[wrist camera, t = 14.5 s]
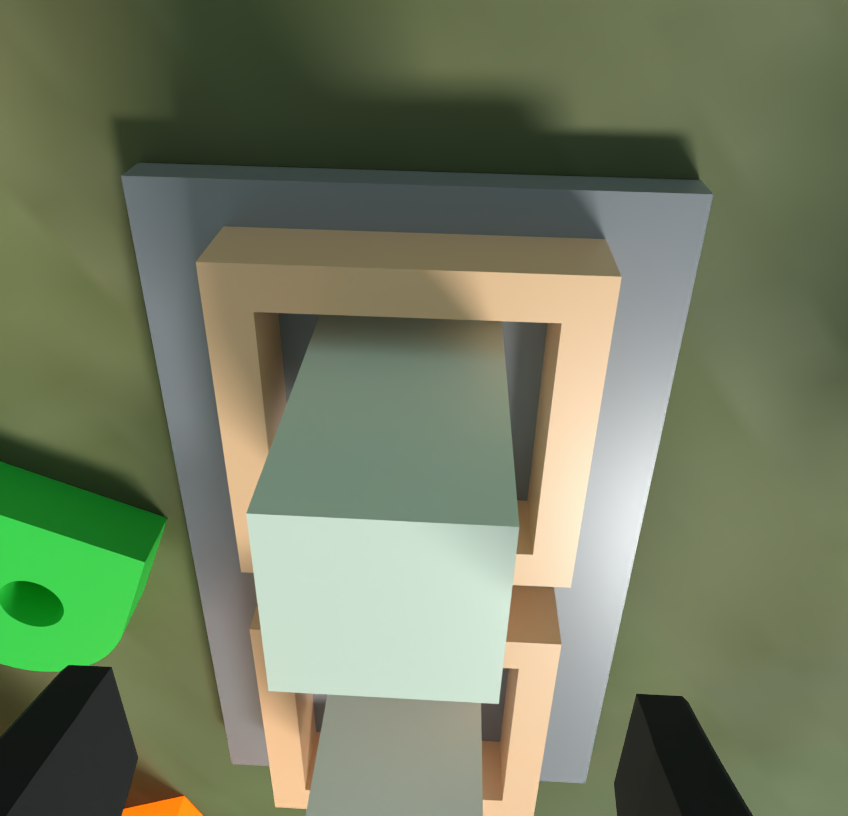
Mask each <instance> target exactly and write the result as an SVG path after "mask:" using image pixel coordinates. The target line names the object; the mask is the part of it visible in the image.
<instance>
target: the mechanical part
mask: <svg viewBox="0 0 848 816" xmlns="http://www.w3.org/2000/svg"><path fill="white" fill-rule="evenodd" d="M166 521H167V518H165V517H162V516H159V515H157V514H154V513H151V512H148V511H145V510H142V509H139V508H136V507H133V506H130V505H127V504H124V503H121V502H118V501H115V500H112V499H109V498H106V497H103V496H101V495H98V494H95V493H92V492H89V491H86V490H83V489H80V488H77V487H74V486H71V485H68V484H65V483H62V482H59V481H56V480H53V479H50V478H47V477H44V476H42V475H39V474H36V473H33V472H30V471H27V470H24V469H21V468H18V467H15V466H12V465H9V464H6V463H3V462H0V664H3V665H7V666H11V667H15V668H20V669H25V670H32V671H44V672H57V671H62V670H63V669H64V668H65V667H66V666H68V665H80V666H88V665H91V664H93V663H95V662H97V661H99V660H101V659H102V658H104V657H105V656H107V655H108V654H109V653H110V652H111V651H112V650H113V649H114V648H115V647H116V645H117V644H118V642H119V641H120V639H121V637H122V635H123V633H124V631H125V628H126V626H127V624H128V622H129V620H130V618H131V616H132V614H133V612H134V610H135V608H136V606H137V604H138V601H139V599H140V597H141V595H142V593H143V591H144V588H145V586H146V583H147V579H148V576H149V573H150V570H151V567H152V564H153V561H154V558H155V555H156V552H157V549H158V545H159V542H160V539H161V536H162V533H163V530H164V527H165V524H166Z"/></svg>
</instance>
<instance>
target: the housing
mask: <svg viewBox="0 0 848 816" xmlns="http://www.w3.org/2000/svg"><path fill="white" fill-rule="evenodd" d="M121 179H122V184H123V190H124V195H125V200H126V205H127V211H128V216H129V221H130V227H131V232H132V237H133V242H134V248H135V253H136V258H137V264H138V269H139V274H140V279H141V285H142V290H143V295H144V301H145V306H146V311H147V316H148V322H149V327H150V332H151V338H152V343H153V348H154V353H155V359H156V364H157V369H158V375H159V380H160V385H161V391H162V396H163V401H164V406H165V412H166V417H167V422H168V428H169V433H170V438H171V443H172V449H173V454H174V459H175V465H176V470H177V475H178V480H179V486H180V491H181V496H182V502H183V507H184V512H185V517H186V523H187V528H188V533H189V539H190V544H191V549H192V554H193V560H194V565H195V570H196V576H197V581H198V586H199V591H200V597H201V602H202V607H203V613H204V618H205V623H206V629H207V634H208V639H209V644H210V650H211V655H212V660H213V666H214V671H215V676H216V681H217V687H218V692H219V697H220V703H221V708H222V713H223V718H224V724H225V729H226V734H227V740H228V745H229V750H230V755H231V761H232V764H242V765H261V766H270V772H271V779H272V786H273V793H274V800H275V806H276V807H285V808H303V809H307V805H308V800H309V794H310V788H311V783H312V777H313V772H314V766H315V761H316V755H317V750H318V744H319V738H320V733H321V727H322V722H323V716H324V711H325V705H326V700H327V694H311V693H293V692H275V691H268V683H267V675H266V667H265V659H264V651H263V643H262V635H261V628H260V620H259V612H258V604H257V596H256V588H255V580H254V572H253V564H252V557H251V549H250V541H249V533H248V525H247V517H246V512H247V510H248V507H249V504H250V501H251V499H252V496H253V493H254V491H255V488H256V485H257V483H258V480H259V477H260V475H261V472H262V469H263V466H264V464H265V461H266V458H267V456H268V453H269V450H270V448H271V445H272V442H273V440H274V437H275V434H276V431H277V429H278V426H279V423H280V421H281V418H282V415H283V413H284V410H285V407H286V405H287V402H288V399H289V396H290V394H291V391H292V388H293V386H294V383H295V380H296V378H297V375H298V372H299V370H300V367H301V364H302V361H303V359H304V356H305V353H306V351H307V348H308V345H309V343H310V340H311V337H312V335H313V332H314V329H315V326H316V324H317V321H318V318H319V316H320V315H347V316H374V317H401V318H429V319H456V320H483V321H502V328H503V340H504V352H505V363H506V375H507V387H508V399H509V411H510V422H511V434H512V446H513V458H514V469H515V481H516V493H517V505H518V517H519V535H518V543H517V552H516V560H515V569H514V577H513V586H512V595H511V603H510V612H509V620H508V629H507V637H506V646H505V654H504V663H503V671H502V680H501V689H500V697H499V704H490V703H481V732H482V791H483V816H534V810H535V803H536V797H537V791H538V785H539V781H554V782H572V783H585V782H586V777H587V773H588V768H589V763H590V759H591V754H592V750H593V745H594V740H595V736H596V731H597V727H598V722H599V718H600V713H601V708H602V704H603V699H604V695H605V690H606V685H607V681H608V676H609V672H610V667H611V662H612V658H613V653H614V649H615V644H616V639H617V635H618V630H619V626H620V621H621V616H622V612H623V607H624V603H625V598H626V594H627V589H628V584H629V580H630V575H631V571H632V566H633V561H634V557H635V552H636V548H637V543H638V538H639V534H640V529H641V525H642V520H643V515H644V511H645V506H646V502H647V497H648V493H649V488H650V483H651V479H652V474H653V470H654V465H655V460H656V456H657V451H658V447H659V442H660V437H661V433H662V428H663V424H664V419H665V414H666V410H667V405H668V401H669V396H670V391H671V387H672V382H673V378H674V373H675V369H676V364H677V359H678V355H679V350H680V346H681V341H682V336H683V332H684V327H685V323H686V318H687V313H688V309H689V304H690V300H691V295H692V290H693V286H694V281H695V277H696V272H697V268H698V263H699V258H700V254H701V249H702V245H703V240H704V235H705V231H706V226H707V222H708V217H709V212H710V208H711V203H712V199H713V193H712V192H711V191H710V190H709V189H708V188H707V187H706V185H705V184H704V183H703V182H702V181H701V180H680V179H648V178H616V177H583V176H551V175H519V174H487V173H454V172H422V171H390V170H357V169H325V168H293V167H260V166H228V165H196V164H164V163H137V164H136V165H135V166H133V167H132V168H131V169H129V170H128V171H127V172H125V173H124V174H123V175H121Z"/></svg>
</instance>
